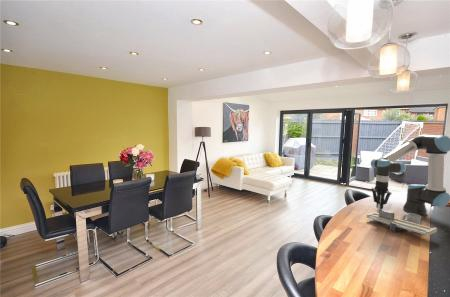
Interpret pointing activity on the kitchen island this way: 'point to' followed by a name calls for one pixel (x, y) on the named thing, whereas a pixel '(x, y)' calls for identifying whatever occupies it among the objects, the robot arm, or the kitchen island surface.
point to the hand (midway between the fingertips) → (379, 212)
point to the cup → (412, 218)
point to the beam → (404, 224)
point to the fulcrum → (395, 227)
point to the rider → (386, 214)
